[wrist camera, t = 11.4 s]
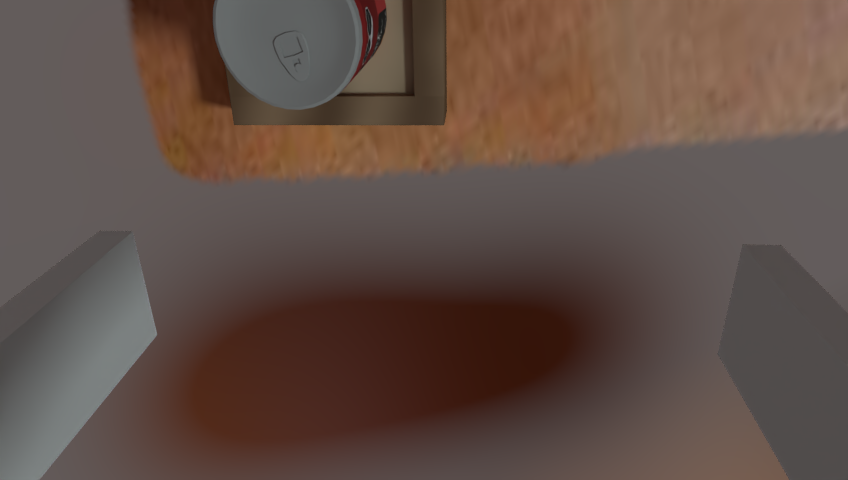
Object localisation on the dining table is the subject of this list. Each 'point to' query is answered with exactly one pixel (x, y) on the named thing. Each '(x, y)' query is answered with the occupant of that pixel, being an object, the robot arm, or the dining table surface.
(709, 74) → the dining table surface
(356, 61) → the canned food
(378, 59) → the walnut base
